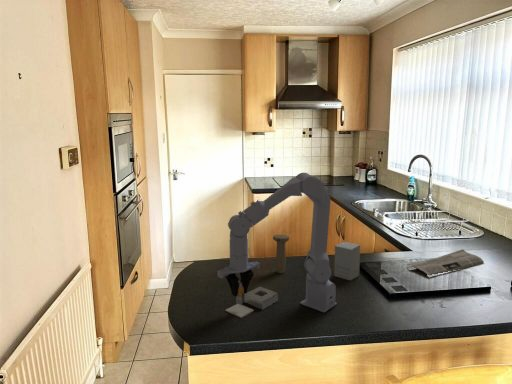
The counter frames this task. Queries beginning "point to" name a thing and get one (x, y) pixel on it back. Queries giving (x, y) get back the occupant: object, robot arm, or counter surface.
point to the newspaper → (448, 262)
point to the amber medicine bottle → (240, 292)
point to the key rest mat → (239, 310)
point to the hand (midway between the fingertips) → (239, 293)
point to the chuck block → (261, 297)
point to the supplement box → (347, 260)
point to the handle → (280, 252)
